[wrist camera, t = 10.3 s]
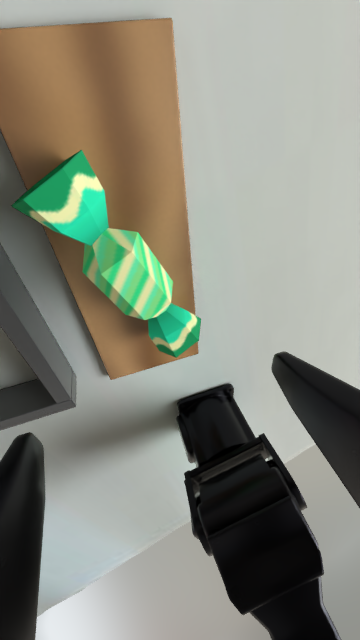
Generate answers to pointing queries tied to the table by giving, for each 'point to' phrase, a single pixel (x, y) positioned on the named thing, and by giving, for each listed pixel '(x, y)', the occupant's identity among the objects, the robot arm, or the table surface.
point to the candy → (111, 252)
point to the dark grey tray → (31, 356)
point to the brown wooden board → (105, 154)
